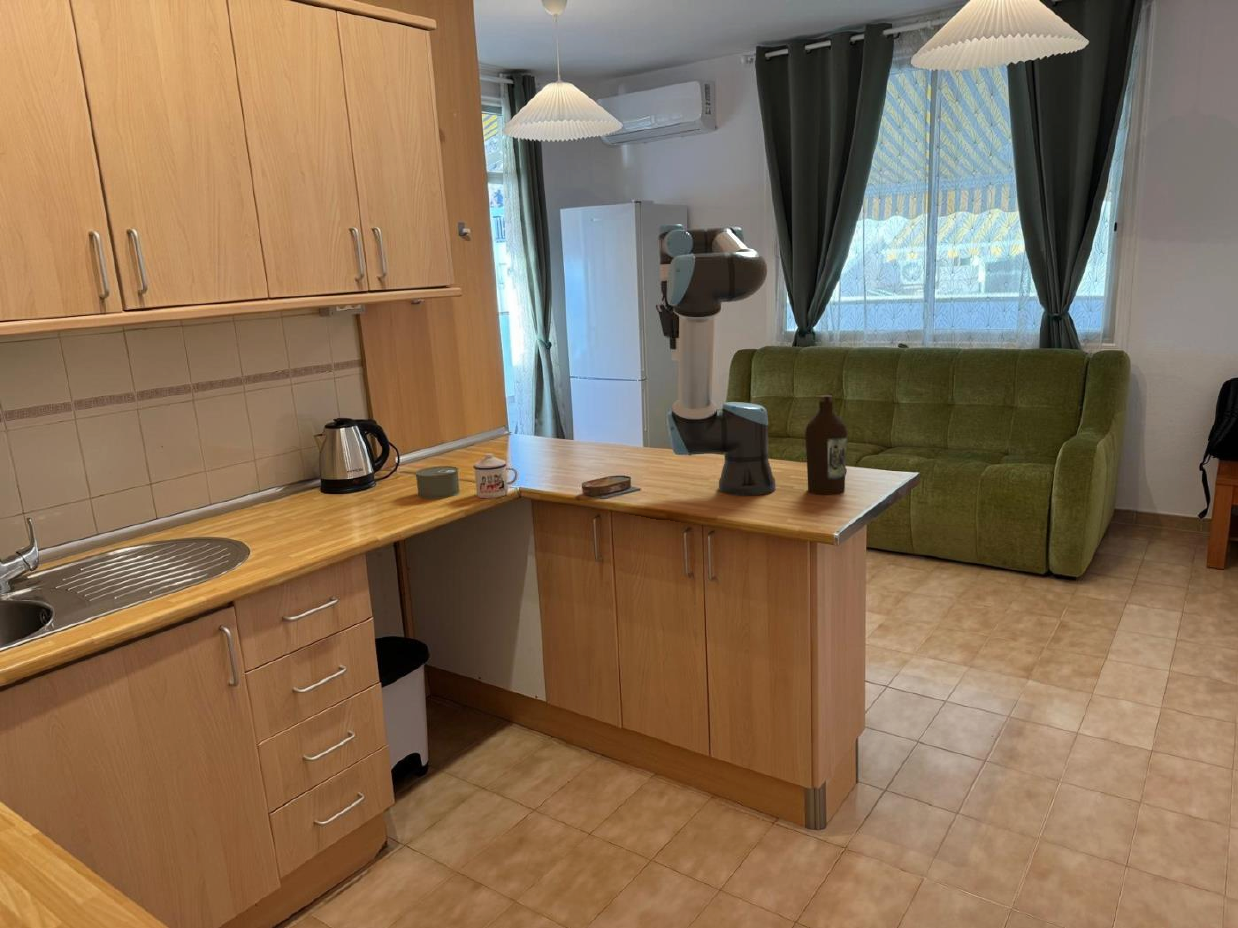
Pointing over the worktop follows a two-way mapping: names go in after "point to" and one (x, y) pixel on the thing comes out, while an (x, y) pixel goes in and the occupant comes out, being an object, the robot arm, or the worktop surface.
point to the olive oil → (826, 450)
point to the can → (437, 482)
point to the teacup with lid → (492, 477)
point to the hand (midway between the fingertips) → (676, 360)
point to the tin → (606, 485)
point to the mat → (617, 493)
